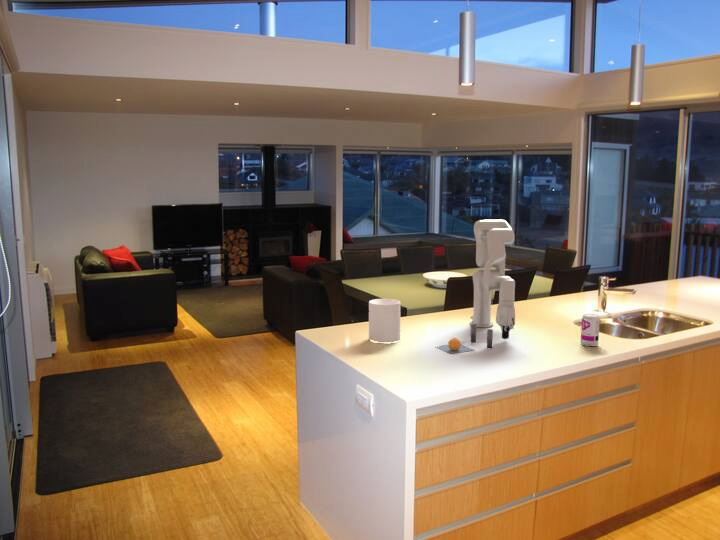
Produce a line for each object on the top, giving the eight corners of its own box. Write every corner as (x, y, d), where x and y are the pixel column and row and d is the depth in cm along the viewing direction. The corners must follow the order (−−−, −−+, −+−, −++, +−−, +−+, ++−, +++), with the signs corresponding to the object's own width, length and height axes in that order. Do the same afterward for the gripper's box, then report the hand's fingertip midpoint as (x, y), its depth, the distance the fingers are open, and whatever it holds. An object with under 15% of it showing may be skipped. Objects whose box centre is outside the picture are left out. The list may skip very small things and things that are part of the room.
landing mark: (434, 346, 309) (434, 346, 309) (458, 343, 315) (458, 343, 315) (450, 353, 297) (450, 353, 297) (474, 350, 303) (474, 349, 303)
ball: (443, 344, 303) (450, 334, 304) (451, 352, 305) (458, 342, 306) (450, 346, 297) (458, 336, 299) (458, 354, 300) (465, 344, 301)
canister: (373, 345, 312) (374, 305, 309) (365, 337, 327) (365, 299, 324) (404, 343, 316) (404, 303, 313) (394, 335, 331) (394, 298, 328)
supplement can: (587, 347, 308) (588, 317, 305) (577, 343, 315) (578, 314, 313) (601, 346, 310) (603, 316, 308) (591, 342, 318) (592, 313, 315)
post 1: (469, 341, 319) (470, 324, 318) (473, 340, 320) (474, 323, 319) (472, 342, 317) (473, 325, 316) (476, 341, 318) (477, 324, 317)
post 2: (485, 347, 308) (486, 329, 306) (489, 346, 309) (490, 329, 307) (488, 348, 305) (489, 330, 304) (493, 348, 306) (493, 330, 305)
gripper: (491, 301, 322) (490, 336, 324) (510, 306, 308) (509, 342, 311) (502, 299, 325) (501, 334, 327) (522, 305, 312) (520, 341, 314)
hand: (505, 338), depth 319 cm, fingers closed
